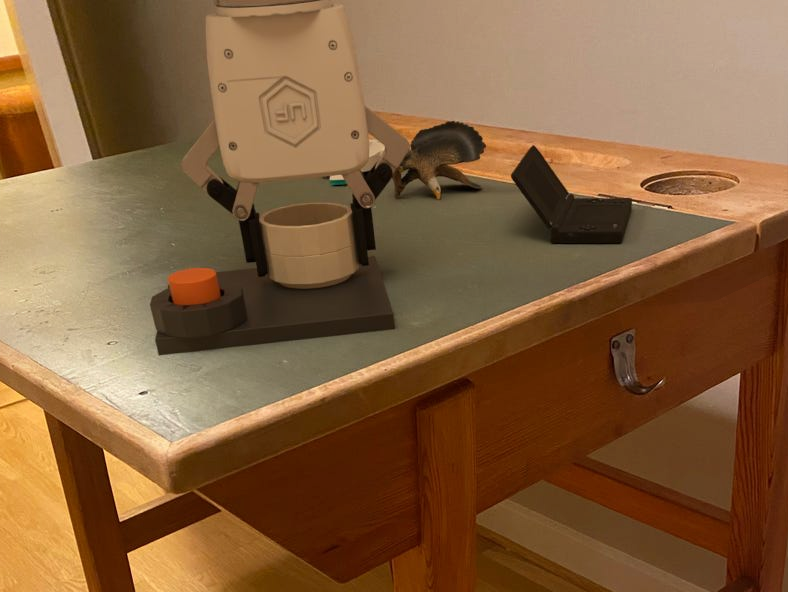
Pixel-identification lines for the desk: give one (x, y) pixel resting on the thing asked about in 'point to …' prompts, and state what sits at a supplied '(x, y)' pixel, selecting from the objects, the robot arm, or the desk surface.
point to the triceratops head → (439, 156)
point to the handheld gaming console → (569, 205)
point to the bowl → (309, 244)
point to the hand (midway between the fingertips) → (313, 264)
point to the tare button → (194, 286)
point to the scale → (272, 312)
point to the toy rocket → (374, 155)
